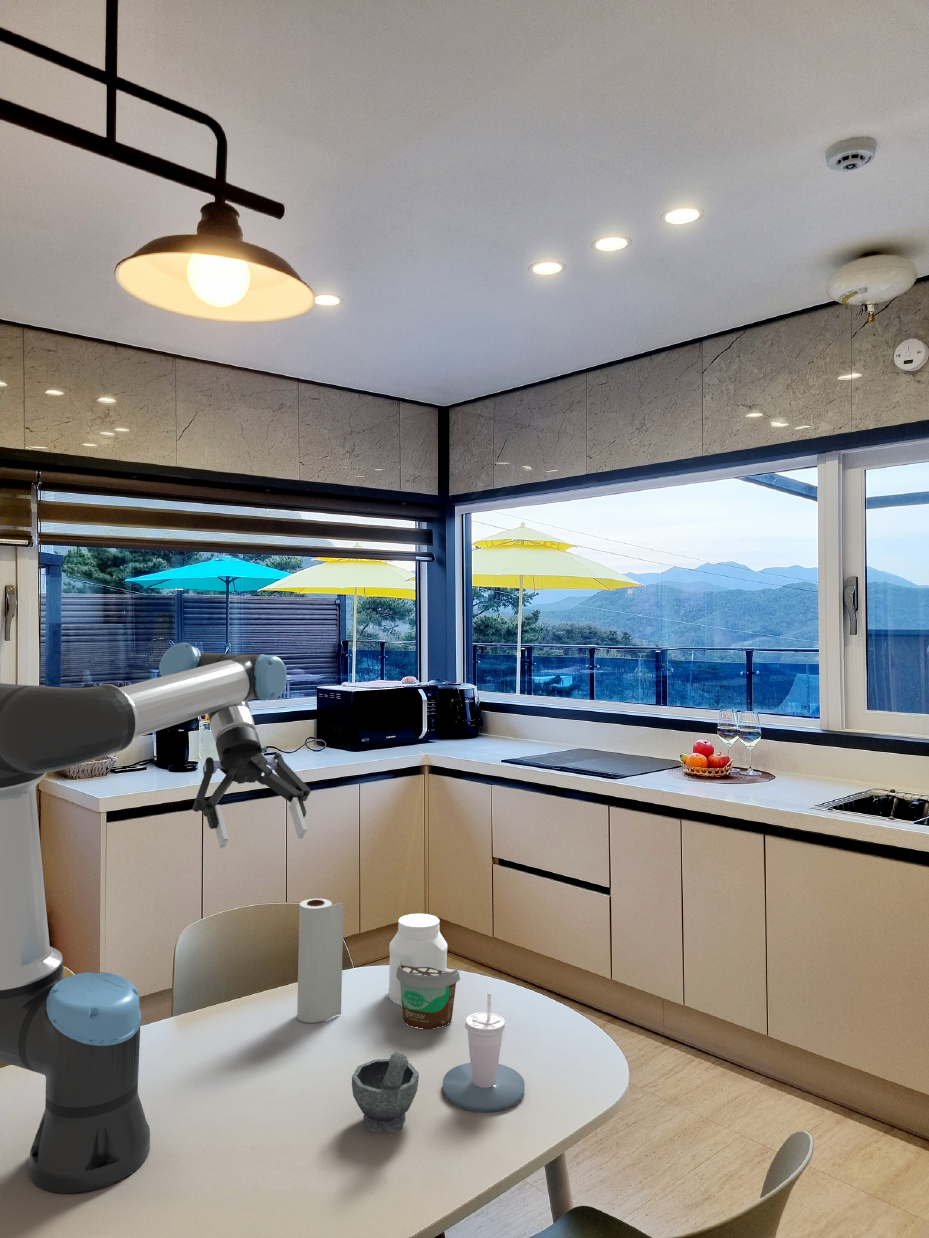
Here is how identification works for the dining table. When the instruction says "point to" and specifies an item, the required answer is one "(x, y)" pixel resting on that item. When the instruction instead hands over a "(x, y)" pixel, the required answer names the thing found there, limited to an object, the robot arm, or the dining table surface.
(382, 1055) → the dining table surface
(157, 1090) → the dining table surface
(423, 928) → the jar
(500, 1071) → the dish
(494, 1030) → the smoothie
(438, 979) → the food container
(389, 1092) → the mortar and pestle
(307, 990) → the paper towel roll
